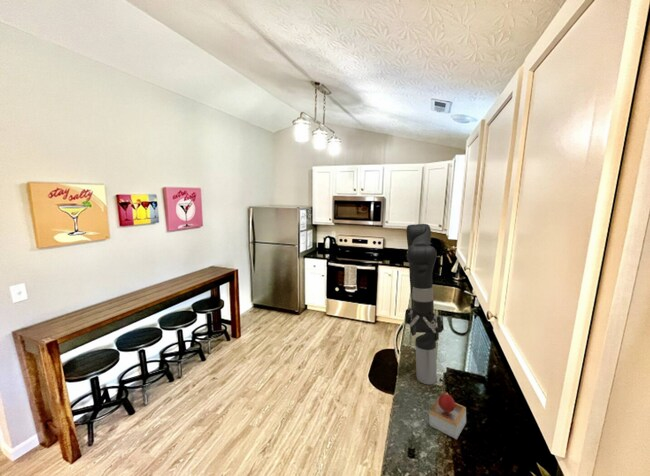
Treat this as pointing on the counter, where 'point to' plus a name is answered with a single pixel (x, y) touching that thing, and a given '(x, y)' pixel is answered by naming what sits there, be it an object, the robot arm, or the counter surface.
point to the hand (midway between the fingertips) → (424, 337)
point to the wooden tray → (448, 419)
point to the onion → (446, 402)
